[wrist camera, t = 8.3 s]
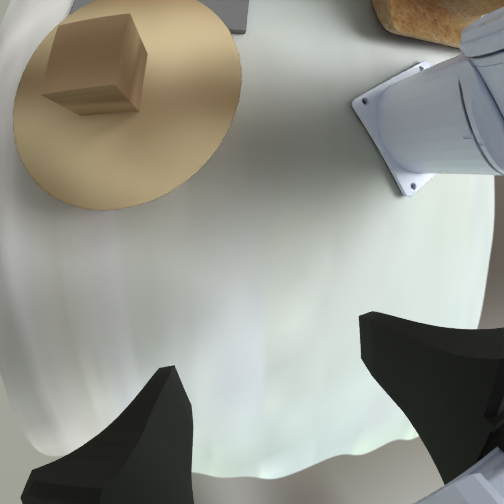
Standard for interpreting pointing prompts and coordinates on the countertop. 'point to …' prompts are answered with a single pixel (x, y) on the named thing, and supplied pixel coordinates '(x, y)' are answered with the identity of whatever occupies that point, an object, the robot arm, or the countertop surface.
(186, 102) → the oak lid
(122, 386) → the countertop surface
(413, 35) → the stone cup
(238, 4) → the charcoal mat
